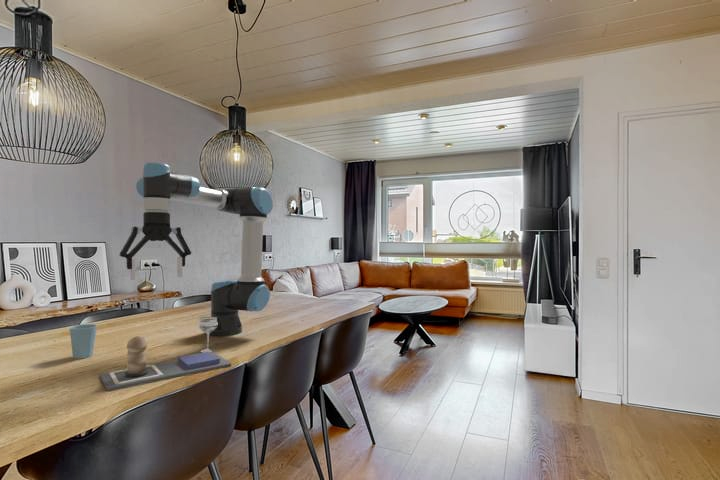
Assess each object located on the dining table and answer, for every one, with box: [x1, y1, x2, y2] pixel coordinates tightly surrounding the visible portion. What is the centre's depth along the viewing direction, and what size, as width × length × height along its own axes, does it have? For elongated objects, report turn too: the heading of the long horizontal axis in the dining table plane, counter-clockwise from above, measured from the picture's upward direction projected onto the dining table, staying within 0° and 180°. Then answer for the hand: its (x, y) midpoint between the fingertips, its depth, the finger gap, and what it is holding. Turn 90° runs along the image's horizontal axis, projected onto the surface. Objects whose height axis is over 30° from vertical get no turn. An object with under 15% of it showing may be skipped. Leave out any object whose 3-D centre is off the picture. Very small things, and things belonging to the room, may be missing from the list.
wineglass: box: [198, 316, 218, 353], centre depth 140 cm, size 7×7×12 cm
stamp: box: [125, 336, 148, 378], centre depth 112 cm, size 6×6×11 cm
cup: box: [69, 323, 98, 360], centre depth 131 cm, size 8×8×10 cm
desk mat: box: [99, 352, 232, 392], centre depth 118 cm, size 34×14×2 cm, turn 131°
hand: (157, 278), depth 121 cm, fingers open, 13 cm apart
